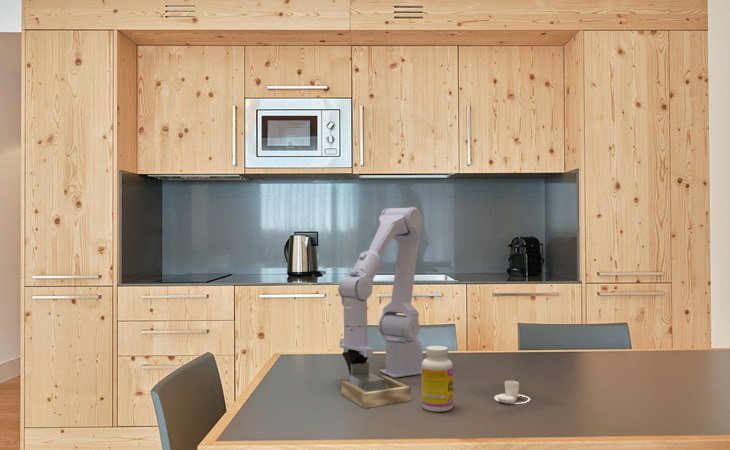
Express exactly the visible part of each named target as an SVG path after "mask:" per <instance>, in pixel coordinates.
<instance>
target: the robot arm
mask: <svg viewBox="0 0 730 450" xmlns="http://www.w3.org/2000/svg"><path fill="white" fill-rule="evenodd" d="M378 224H379V225H378V226H379V227H378V229H377V231H376V233H375V234H374V235H375V236H374V237H373V240H372V242H371V244H370V247H369V248H368V250H364V251H363V252H361V253H360V254H359V256H358V259H357V261H356V262H355V264H354V265H353V267H352V269H351V270H350V273H349V274H348V275H346V276H345V277H343V278H342V279H341V280H340V282H339V287H337V291H338V294H339V295H338V296H340V300H341V304H342V306H343V338H340V339H339V348H341V349H347V351H344V352H342V356H343V359H344V360H345V363H346V365H347V368H348V373H349V374H351V364H355V363H364V362H368V359H369V358H370V357H374V348H373V347H371V346H370V344H369V343H368V299H369V298H370V297H371V295H372V293H373V284H374V279H375V277H376V275H377V273H378V271H379V269H380V268H381V265H382V264H383V262H382V259H381V257H382V255H383V253H384V252H385V251H386V249H387V248H388V246H389V245H390V243H391V241H392V240H395V242H396V243H397V244H398V247H397V254H396V255H397V256H396V262H395V268H394V269H395V270H394V271H395V272H394V278H393V286H392V293H391V300H390V302H389V303H388V304H386V305H385V306H384V307H383V309H382V314H381V317H380V318H379V320H378V330H379V333H380V334H381V336H383V337H382V339H383V340H385V368H384V369H383V368H382V369H379V372H380V373H383V374H384V375H386V376H387V375H388V377H390V378H400V377H409V376H414V375H415V376H416V375H422V362H423V360H424V359H423V358H424V357H423V355H424V354H423V353H424V351H423V346H422V343H421V340H420V339H418V338H417V336H418V334H419V331H420V322H419V317H420V316H419V315H420V313H419V311H418V310H417V309H416V307H414V306H413V304H412V298H413V290H414V283H415V274H416V265H417V259H418V258H417V257H418V251H419V242H420V239H421V234H422V226H423V225H422V224H423V217H422V215H421V213H420V211H419V209H418V208H417V207H415V206H410V207H395V208H394V207H393V208H391V207H386V208H384V209H383V210H382V212H381V214H380V216H379V217H378ZM402 314H403V315H402Z"/></svg>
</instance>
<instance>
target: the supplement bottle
mask: <svg viewBox="0 0 730 450" xmlns="http://www.w3.org/2000/svg"><path fill="white" fill-rule="evenodd" d="M425 354H426V358H424V359H423V362H422V374H421V407H422V408H423V409H424V410H426V411H428V412H438V413H440V412H441V413H442V412H449V411H451V410H452V409H453V407H454V376H453V375H454V367H453V366H454V365H453V362H452V361H451V360H450V359H449V358H448V354H449V347H447V346H444V345H429V346H426V347H425Z"/></svg>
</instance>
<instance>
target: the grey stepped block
mask: <svg viewBox="0 0 730 450" xmlns="http://www.w3.org/2000/svg"><path fill="white" fill-rule="evenodd" d="M348 380H349V381H348V382H349V383H351V384H353V385H355V386H357V387H359V388H361V389H362V390H364V391H366V392H371V391H378V390H384V389H385V379H383V378H381V377H380V375H379V376H378V375H376V374H374V373H372V372H370V363H369V362H368V361H366V362H364V363H355V364H351V374H350V373H349V379H348Z"/></svg>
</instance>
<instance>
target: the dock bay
mask: <svg viewBox="0 0 730 450" xmlns="http://www.w3.org/2000/svg"><path fill="white" fill-rule="evenodd" d="M379 377H381V378H383V379H385V389H384V390H378V391H371V392H366V391H364V390H362V389H361V388H359V387H357V386H355V385H353V384H351V383H349V381H347V380H342V381H341V382H340V384H341V386H340V387H341V391H340V392H341V393H340V394H341V395H342V396H344V397H345V398H347V399H349V400H350V401H352V402H354V403H356V404H357V405H359V406H361V407H362V408H364V409H368V408H375V407H380V406H386V405H387V406H388V405H393V404H400V403H405V402H411V399H412V398H411V393H412V392H411V390H412V389H411V386H409V385H407V384H404V383H403V382H400V381H397V380H396V379H393V378H392V377H390V376H387V375H386V374H384V375H379Z"/></svg>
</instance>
